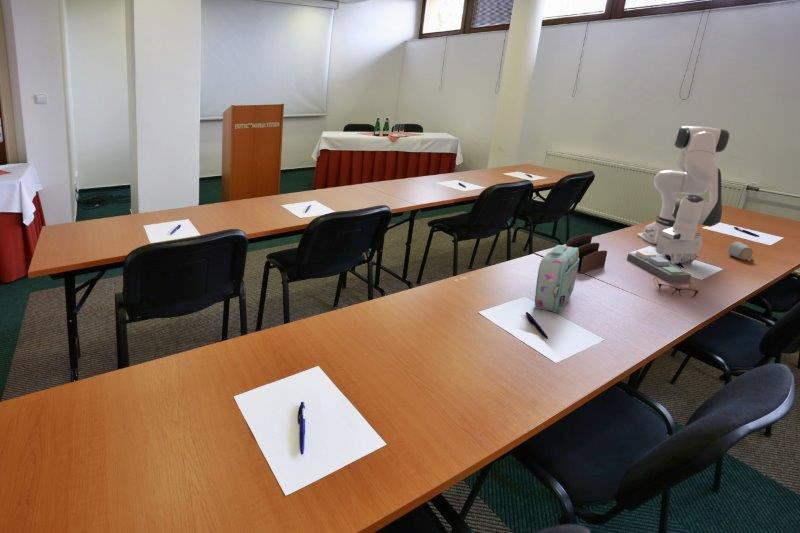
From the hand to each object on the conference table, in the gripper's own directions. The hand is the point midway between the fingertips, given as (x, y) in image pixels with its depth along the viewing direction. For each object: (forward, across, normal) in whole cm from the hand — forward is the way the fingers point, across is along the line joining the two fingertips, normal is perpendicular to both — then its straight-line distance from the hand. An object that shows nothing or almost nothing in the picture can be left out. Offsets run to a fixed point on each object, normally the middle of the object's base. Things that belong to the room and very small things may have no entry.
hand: (674, 263), depth 205 cm
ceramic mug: (+7, -62, -21) cm, 66 cm away
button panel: (+6, 0, -8) cm, 10 cm away
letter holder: (+7, +35, -14) cm, 38 cm away
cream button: (+5, 0, -17) cm, 17 cm away
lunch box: (+6, +70, +21) cm, 73 cm away
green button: (+6, 0, 0) cm, 6 cm away
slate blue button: (+4, 0, -8) cm, 9 cm away
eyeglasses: (+7, +10, +13) cm, 18 cm away
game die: (+7, -21, -14) cm, 26 cm away
